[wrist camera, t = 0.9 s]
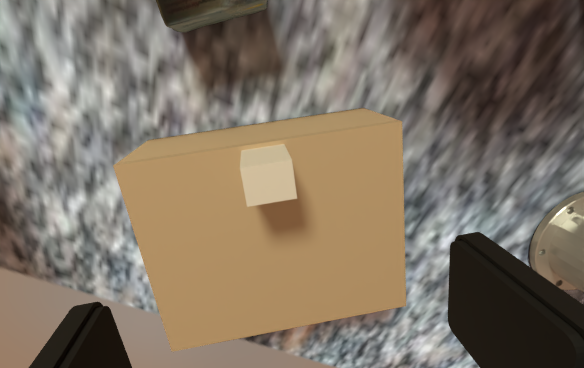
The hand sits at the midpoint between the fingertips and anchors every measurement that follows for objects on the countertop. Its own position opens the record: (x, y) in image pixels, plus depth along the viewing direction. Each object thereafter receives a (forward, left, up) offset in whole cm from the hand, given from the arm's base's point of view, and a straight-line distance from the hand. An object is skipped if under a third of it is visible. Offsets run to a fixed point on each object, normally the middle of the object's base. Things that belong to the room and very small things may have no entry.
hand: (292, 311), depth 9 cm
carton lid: (0, +7, -16) cm, 18 cm away
